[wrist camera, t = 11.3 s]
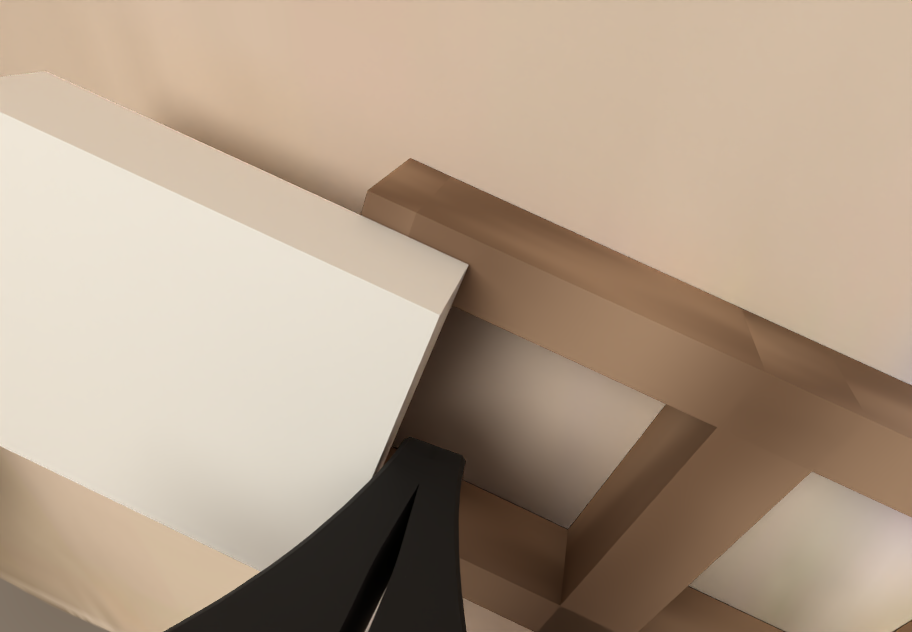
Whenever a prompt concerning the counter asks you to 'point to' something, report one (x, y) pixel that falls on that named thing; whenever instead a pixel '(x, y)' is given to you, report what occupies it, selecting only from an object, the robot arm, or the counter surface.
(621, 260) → the wooden grid frame
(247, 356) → the cover
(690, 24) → the counter surface
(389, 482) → the robot arm
